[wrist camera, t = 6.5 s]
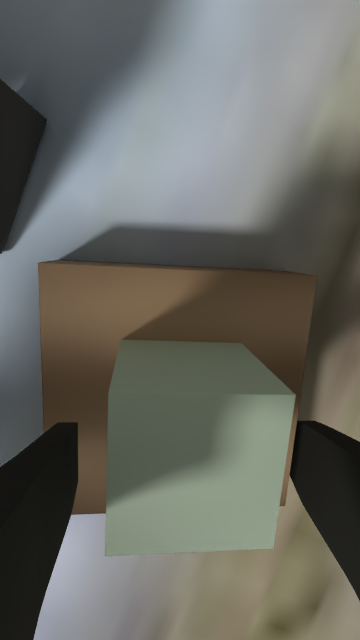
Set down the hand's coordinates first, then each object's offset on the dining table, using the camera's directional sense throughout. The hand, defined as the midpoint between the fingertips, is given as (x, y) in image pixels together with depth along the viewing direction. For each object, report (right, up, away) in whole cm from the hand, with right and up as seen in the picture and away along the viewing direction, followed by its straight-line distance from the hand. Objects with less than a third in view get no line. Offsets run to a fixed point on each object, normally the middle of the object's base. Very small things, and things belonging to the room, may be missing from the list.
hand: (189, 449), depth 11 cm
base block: (-1, +1, +6) cm, 6 cm away
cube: (0, +1, +3) cm, 4 cm away
